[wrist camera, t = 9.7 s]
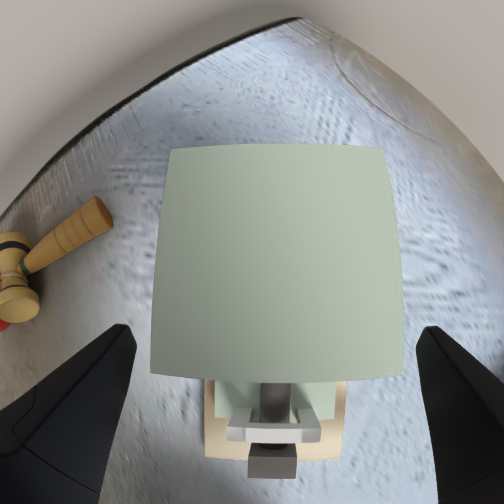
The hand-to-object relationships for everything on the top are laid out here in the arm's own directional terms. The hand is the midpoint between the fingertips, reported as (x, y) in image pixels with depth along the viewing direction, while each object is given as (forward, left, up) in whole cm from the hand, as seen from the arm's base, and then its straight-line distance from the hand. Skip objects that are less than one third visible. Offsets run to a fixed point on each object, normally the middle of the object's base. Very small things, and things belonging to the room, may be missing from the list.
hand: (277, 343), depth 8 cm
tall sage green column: (-1, -1, -10) cm, 10 cm away
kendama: (-13, +16, -11) cm, 24 cm away
